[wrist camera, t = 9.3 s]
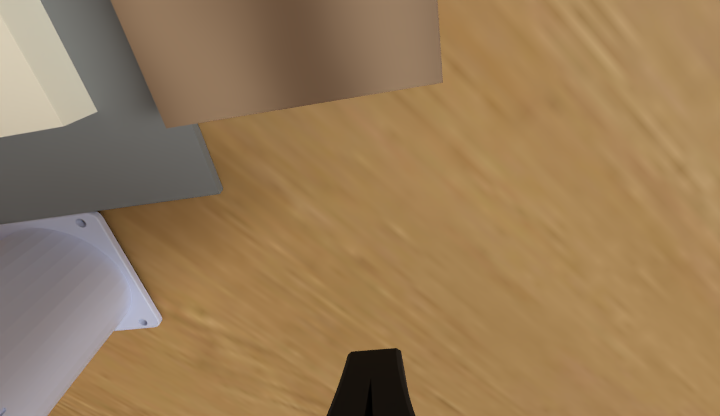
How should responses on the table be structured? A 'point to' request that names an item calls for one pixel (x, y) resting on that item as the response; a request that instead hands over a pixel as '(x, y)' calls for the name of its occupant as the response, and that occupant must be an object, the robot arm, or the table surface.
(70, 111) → the cream rectangular block
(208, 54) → the riser
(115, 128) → the mat
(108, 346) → the table surface
